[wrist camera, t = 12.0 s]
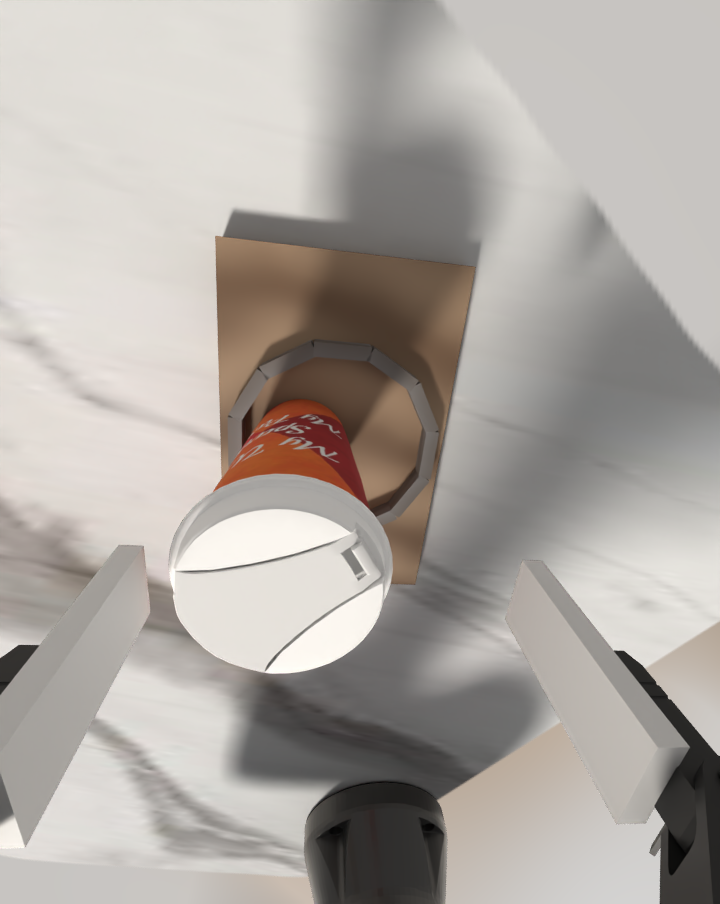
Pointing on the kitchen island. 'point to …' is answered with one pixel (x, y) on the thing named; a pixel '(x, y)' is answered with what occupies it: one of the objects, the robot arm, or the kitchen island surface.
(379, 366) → the seat board
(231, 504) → the paper cup
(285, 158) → the kitchen island surface
